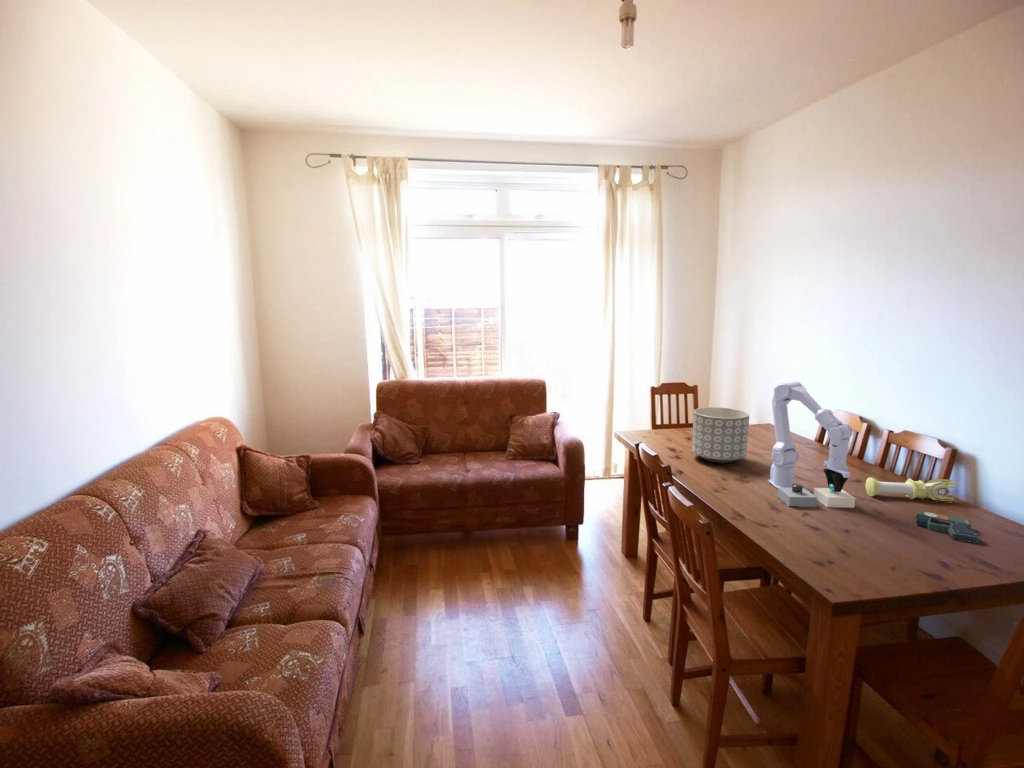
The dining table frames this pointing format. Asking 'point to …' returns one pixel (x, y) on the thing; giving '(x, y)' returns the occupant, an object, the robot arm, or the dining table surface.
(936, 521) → the gun
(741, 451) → the planter
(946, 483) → the yellow toy scepter
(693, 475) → the dining table surface
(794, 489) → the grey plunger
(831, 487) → the teal round knob
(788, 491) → the grey block
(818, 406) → the robot arm
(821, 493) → the cream block
